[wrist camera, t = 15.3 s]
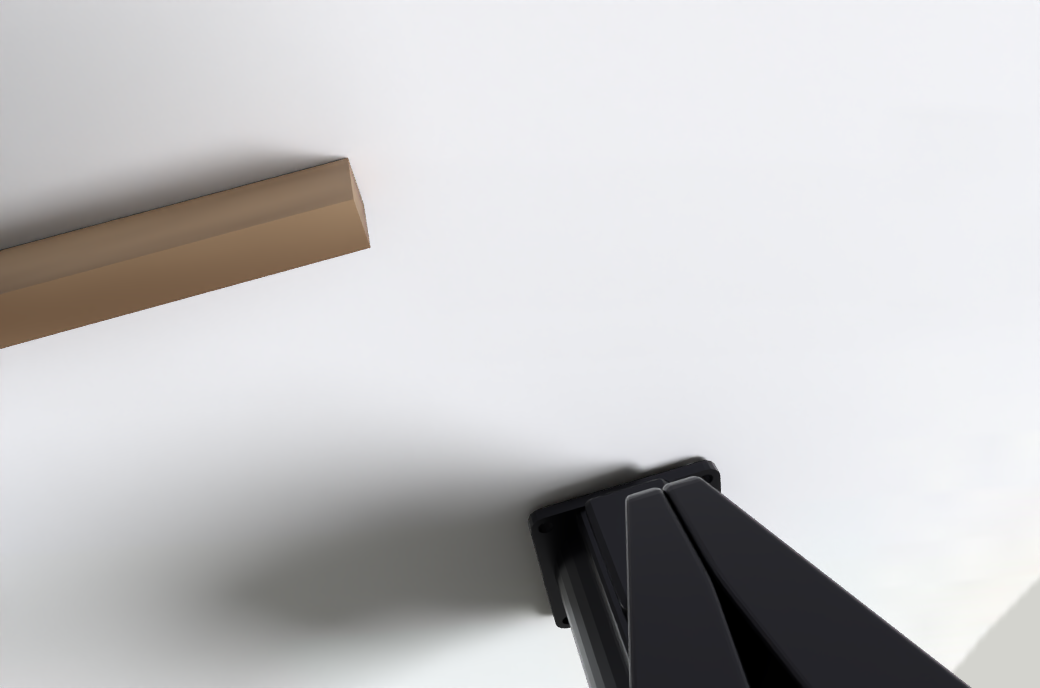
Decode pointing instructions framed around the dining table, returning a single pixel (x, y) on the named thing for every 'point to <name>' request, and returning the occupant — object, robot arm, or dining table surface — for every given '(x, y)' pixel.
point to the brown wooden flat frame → (179, 251)
